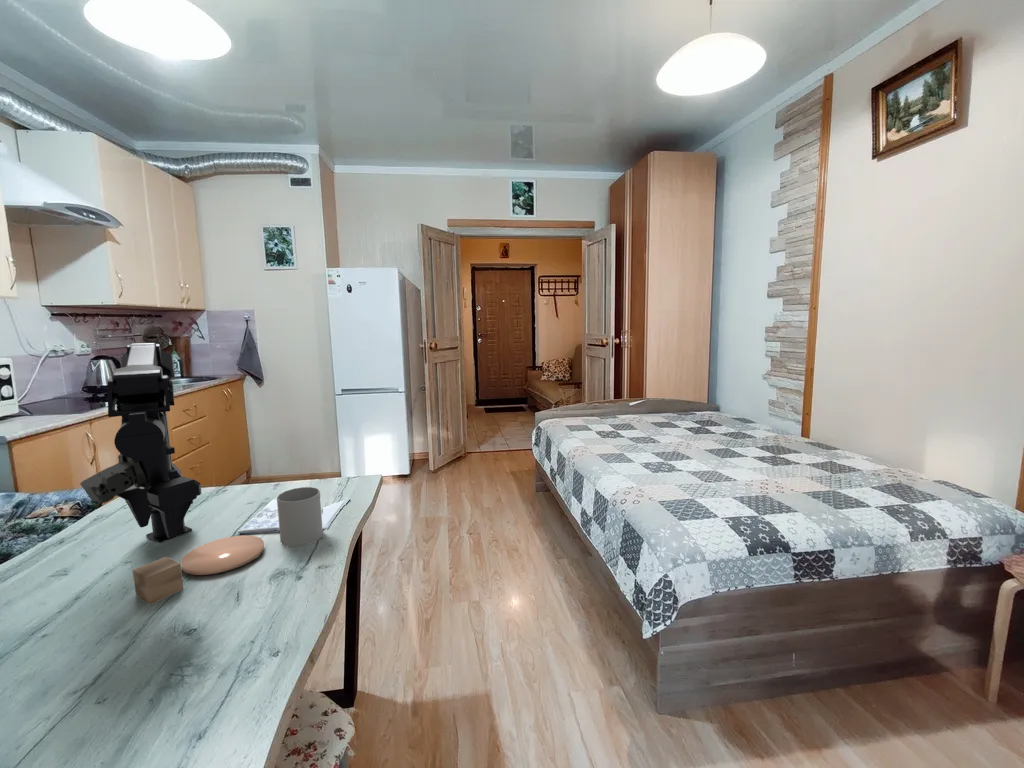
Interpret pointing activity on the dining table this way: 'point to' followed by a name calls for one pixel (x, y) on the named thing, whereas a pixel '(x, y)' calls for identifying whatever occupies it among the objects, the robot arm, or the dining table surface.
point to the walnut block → (158, 580)
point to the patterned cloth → (270, 521)
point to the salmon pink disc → (222, 555)
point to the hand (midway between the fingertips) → (157, 531)
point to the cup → (299, 516)
